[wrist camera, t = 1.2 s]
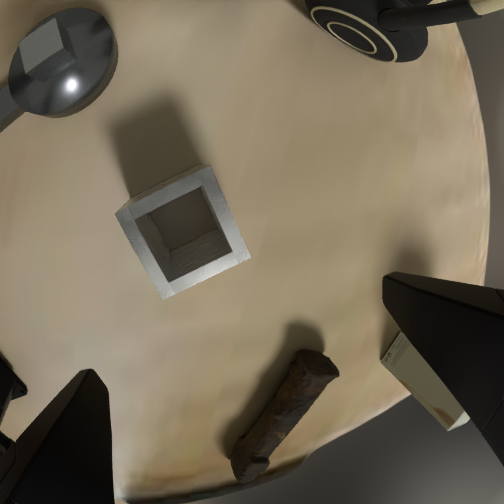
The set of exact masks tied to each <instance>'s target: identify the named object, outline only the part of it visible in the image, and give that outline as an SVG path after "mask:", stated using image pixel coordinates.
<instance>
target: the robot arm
mask: <svg viewBox="0 0 504 504" xmlns="http://www.w3.org/2000/svg"><path fill="white" fill-rule="evenodd" d="M382 299H383V303H384V305H385V307H386V309H387V310H388V311H389V313H390V314H391V316H392V317H393V319H394V320H395V321H396V323H397V324H398V326H399V327H400V329H401V330H402V332H403V333H404V335H405V336H406V338H407V339H408V340H409V342H410V343H411V344H412V345H413V347H414V348H415V349H416V350H417V351H418V353H419V354H420V355H421V356H422V357H423V359H424V360H425V361H426V362H427V363H428V365H429V366H430V367H431V368H432V370H433V371H434V372H435V373H436V375H437V376H438V377H439V378H440V380H441V381H442V382H443V383H444V385H445V386H446V387H447V388H448V390H449V391H450V392H451V394H452V395H453V396H454V397H455V399H456V400H457V401H458V403H459V404H460V405H461V407H462V408H463V409H464V411H465V412H466V413H467V415H468V416H469V417H470V419H471V420H472V421H473V423H474V424H475V426H476V427H477V428H478V430H479V431H480V432H482V433H481V434H482V436H483V437H484V438H485V440H486V441H487V443H488V444H489V446H490V447H491V448H492V450H493V451H494V453H495V454H496V456H497V457H498V459H499V460H500V462H501V463H502V465H503V466H504V290H502V289H494V288H490V287H484V286H479V285H473V284H467V283H461V282H455V281H449V280H443V279H437V278H431V277H425V276H419V275H413V274H407V273H402V272H392V273H389V274H387V275H385V276H384V277H383V280H382ZM27 392H28V390H27V388H26V387H25V386H24V385H23V384H22V383H21V382H20V381H19V379H18V378H17V377H16V376H15V375H14V374H13V373H12V371H11V370H10V369H9V368H8V367H7V365H6V364H5V363H4V362H3V361H2V359H1V358H0V425H1V423H2V420H3V417H4V415H5V412H6V410H7V408H8V405H9V403H10V401H11V400H13V399H16V398H19V397H22V396H24V395H26V394H27ZM0 504H115V502H114V489H113V470H112V431H111V419H110V405H109V392H108V389H107V387H106V385H105V384H104V383H103V381H102V380H101V379H100V377H99V376H98V375H97V373H96V372H95V371H94V370H93V369H91V368H90V369H85V370H81V371H79V372H78V373H77V374H76V376H75V377H74V378H73V379H72V380H71V381H70V382H69V383H68V384H67V385H66V386H65V387H64V388H63V389H62V390H61V391H60V392H59V393H58V395H57V396H56V397H55V398H54V399H53V400H52V401H51V402H50V403H49V404H48V405H47V406H46V408H45V409H44V410H43V411H42V412H41V413H40V414H39V415H38V416H37V417H36V418H35V420H34V421H33V422H32V423H31V424H30V425H29V426H28V427H27V429H26V430H25V431H24V432H23V433H22V434H21V435H20V436H19V438H18V439H17V440H16V442H14V441H13V440H12V439H11V438H8V437H7V436H6V435H4V434H3V433H2V432H1V431H0Z"/></svg>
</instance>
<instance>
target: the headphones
mask: <svg viewBox="0 0 504 504" xmlns="http://www.w3.org/2000/svg"><path fill="white" fill-rule="evenodd" d="M431 1H432V0H305V3H306V6H307V8H308V10H309V12H310V13H311V17H312V18H313V20H314V21H315V22H316V24H317V25H318V26H319V27H321V28H322V29H323V30H324V31H325V32H327V33H328V34H329V35H331V36H332V37H333V38H335V39H336V40H338V41H340V42H341V43H343V44H344V45H346V46H348V47H349V48H351V49H353V50H355V51H357V52H359V53H361V54H363V55H365V56H367V57H370V58H372V59H375V60H378V61H381V62H386V63H392V62H408V61H413V60H416V59H418V58H419V57H420V56H421V55H422V54H423V52H424V50H425V49H426V47H427V44H428V31H427V28H426V27H428V26H435V25H442V24H449V23H454V22H459V21H464V20H470V19H476V18H481V17H482V15H483V14H487V13H490V12H494V11H497V10H500V9H503V8H504V0H452V1H447V2H442V3H438V4H430V5H427V4H429V3H430V2H431Z"/></svg>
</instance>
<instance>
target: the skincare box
mask: <svg viewBox="0 0 504 504" xmlns="http://www.w3.org/2000/svg"><path fill="white" fill-rule="evenodd" d="M381 363H382V364H383V365H384V366H385V367H386V368H387V369H388V370H389V371H390V372H391V373H392V374H393V375H394V376H395V377H396V378H397V379H398V380H399V381H400V382H401V383H402V384H403V385H404V386H405V388H406V389H407V390H408V391H409V392H410V393H411V394H412V395H413V396H415V398H416V399H417V400H418V401H419V402H420V403H421V404H422V405H423V406H424V407H425V408H426V409H427V410H428V411H429V412H430V413H431V414H432V415H433V416H434V417H435V418H436V419H437V420H438V421H439V422H440V423H441V424H442V425H443V426H444V427H445V429H446V430H447V431H449V430H451V429H454V428H456V427H458V426H461V425H463V424H464V423H466V422H467V421H468V420H469V419H470V417H469V416H468V415H467V413H466V412H465V411H464V409H463V408H462V407H461V405H460V404H459V403H458V401H457V400H456V399H455V397H454V396H453V395H452V394H451V392H450V391H449V390H448V388H447V387H446V386H445V385H444V383H443V382H442V381H441V380H440V378H439V377H438V376H437V375H436V373H435V372H434V371H433V370H432V368H431V367H430V366H429V365H428V363H427V362H426V361H425V360H424V359H423V357H422V356H421V355H420V354H419V353H418V351H417V350H416V349H415V348H414V347H413V345H412V344H411V343H410V342H409V340H408V339H407V338H406V336H405V335H404V333H403V332H400V333H399V335H398V336H397V338H396V339H395V341H394V342H393V344H392V345H391V347H390V348H389V350H388V351H387V353H386V354H385V356H384V357H383V359H382V360H381Z"/></svg>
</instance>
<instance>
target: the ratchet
mask: <svg viewBox="0 0 504 504" xmlns="http://www.w3.org/2000/svg"><path fill="white" fill-rule="evenodd" d="M117 62H118V45H117V42H116V39H115V37H114V35H113V33H112V31H111V29H110V27H109V25H108V23H107V21H106V20H105V18H104V17H103V16H102V15H100V14H99V13H97V12H96V11H93V10H91V9H86V8H71V9H67V10H63V11H60V12H58V13H55V14H53V15H51V16H49V17H48V18H46V19H45V20H43V21H42V22H40V23H39V24H38V25H37V26H35V27H34V28H33V29H32V30H31V31H30V32H29V33H28V34H27V36H26V37H25V38H24V39H23V40H21V41H20V42H19V47H18V49H17V50H16V52H15V55H14V57H13V59H12V62H11V65H10V70H9V78H8V82H9V83H8V84H7V85H6V86H5V87H3V88H2V89H1V90H0V133H1V132H2V131H3V130H4V129H5V128H6V127H7V126H9V125H10V124H11V123H12V122H13V121H15V120H16V119H17V118H18V117H19V116H21V115H22V114H23V113H24V112H26V111H27V112H30V113H33V114H37V115H41V116H45V117H50V118H61V117H66V116H70V115H72V114H75V113H77V112H79V111H81V110H83V109H84V108H86V107H87V106H89V105H90V104H91V103H92V102H94V101H95V100H96V99H97V98H98V97H99V96H100V95H101V94H102V92H103V91H104V90H105V89H106V87H107V86H108V84H109V83H110V81H111V79H112V77H113V75H114V72H115V70H116V66H117Z"/></svg>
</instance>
